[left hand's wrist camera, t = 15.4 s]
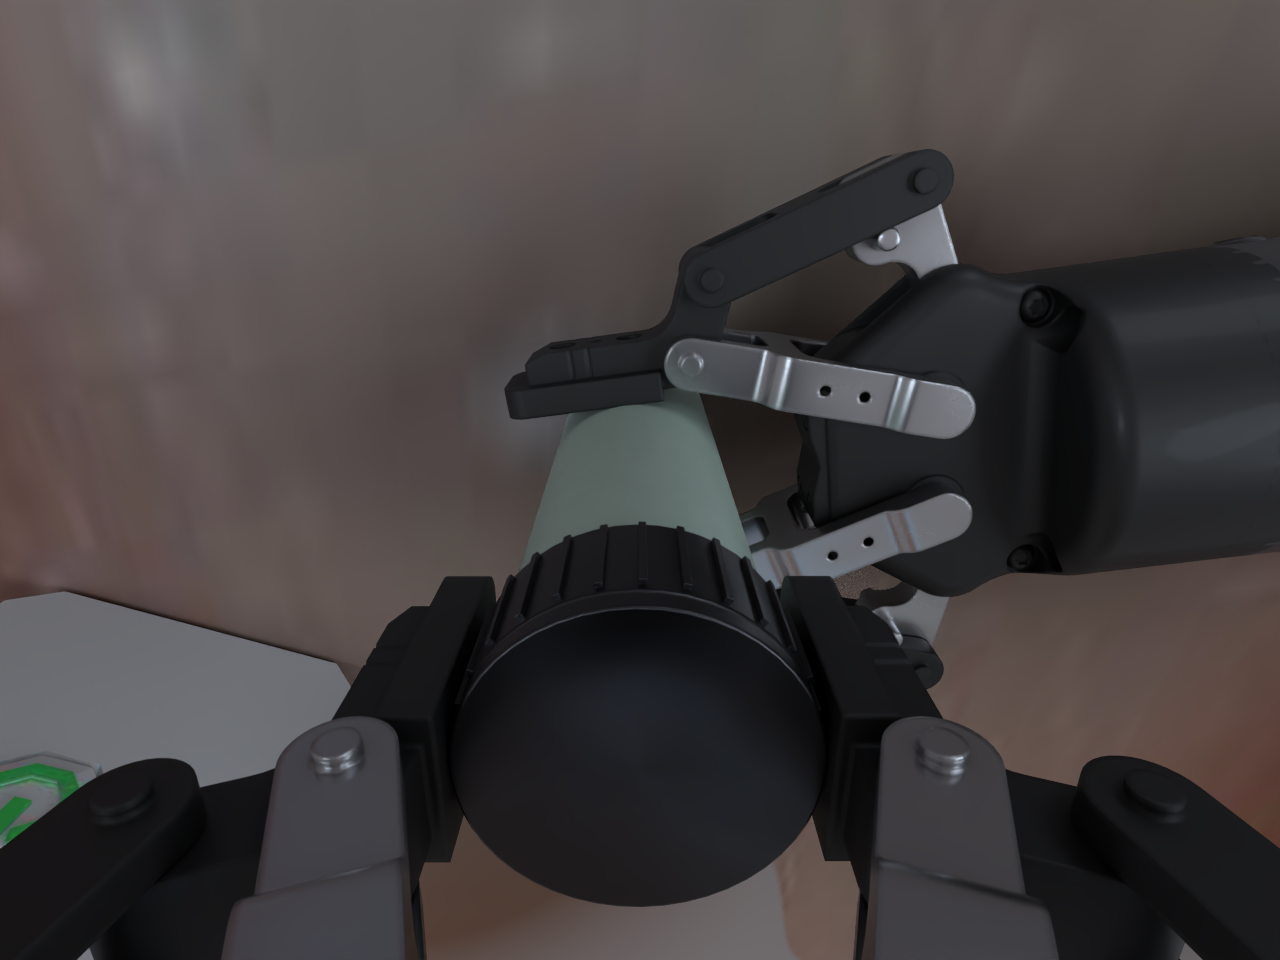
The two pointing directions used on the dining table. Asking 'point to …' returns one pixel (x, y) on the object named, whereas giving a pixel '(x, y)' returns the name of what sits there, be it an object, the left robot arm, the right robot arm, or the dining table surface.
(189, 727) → the electronic device
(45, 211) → the dining table surface
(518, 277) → the dining table surface
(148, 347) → the dining table surface
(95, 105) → the dining table surface
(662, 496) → the pale green tube
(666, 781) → the lid
